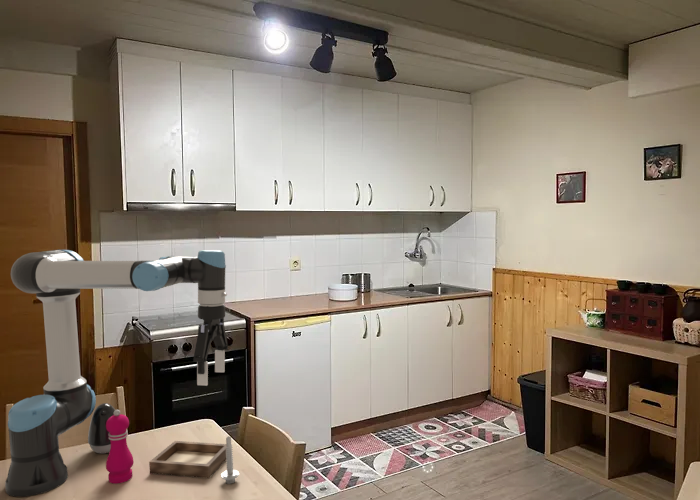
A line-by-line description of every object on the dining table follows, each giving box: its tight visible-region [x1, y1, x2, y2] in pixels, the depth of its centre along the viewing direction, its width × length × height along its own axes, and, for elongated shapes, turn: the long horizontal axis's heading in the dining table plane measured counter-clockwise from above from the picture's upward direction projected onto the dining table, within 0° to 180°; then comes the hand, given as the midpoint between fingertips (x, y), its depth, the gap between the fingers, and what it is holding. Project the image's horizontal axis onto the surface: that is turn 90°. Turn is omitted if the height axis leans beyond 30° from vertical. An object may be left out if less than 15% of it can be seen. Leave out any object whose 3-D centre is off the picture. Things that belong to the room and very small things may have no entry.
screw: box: [220, 436, 240, 485], centre depth 148 cm, size 13×5×5 cm
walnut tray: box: [148, 440, 227, 479], centre depth 160 cm, size 18×14×4 cm
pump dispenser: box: [87, 402, 116, 455], centre depth 170 cm, size 10×10×15 cm
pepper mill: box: [105, 409, 134, 485], centre depth 151 cm, size 7×7×20 cm
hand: (211, 378), depth 153 cm, fingers open, 13 cm apart
